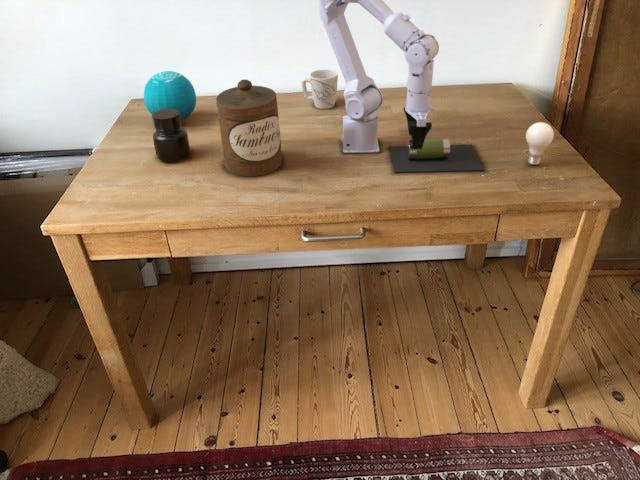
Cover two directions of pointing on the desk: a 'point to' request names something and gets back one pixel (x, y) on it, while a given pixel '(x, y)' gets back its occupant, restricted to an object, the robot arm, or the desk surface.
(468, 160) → the mat
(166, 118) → the ink bottle
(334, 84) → the mug
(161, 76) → the decorative orb
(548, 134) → the lightbulb
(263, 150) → the wooden container
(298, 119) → the desk surface
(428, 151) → the can
